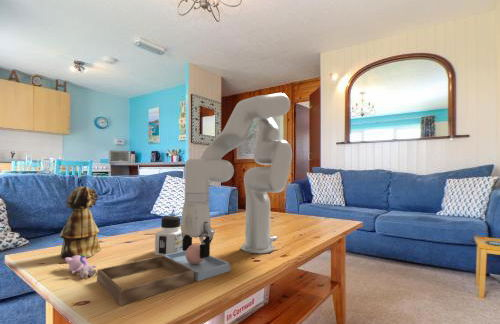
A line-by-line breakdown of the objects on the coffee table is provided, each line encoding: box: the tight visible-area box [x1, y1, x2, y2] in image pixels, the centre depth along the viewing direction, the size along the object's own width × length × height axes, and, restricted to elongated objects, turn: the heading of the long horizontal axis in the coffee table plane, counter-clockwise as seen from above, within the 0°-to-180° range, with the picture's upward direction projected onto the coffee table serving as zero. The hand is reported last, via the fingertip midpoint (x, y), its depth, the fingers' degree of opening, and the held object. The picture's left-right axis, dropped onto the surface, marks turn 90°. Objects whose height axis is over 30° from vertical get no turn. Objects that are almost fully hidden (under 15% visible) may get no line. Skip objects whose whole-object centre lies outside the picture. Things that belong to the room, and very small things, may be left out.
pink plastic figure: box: [64, 254, 97, 280], centre depth 75 cm, size 6×6×15 cm
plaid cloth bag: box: [58, 185, 102, 259], centre depth 91 cm, size 14×14×25 cm
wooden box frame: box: [96, 255, 195, 306], centre depth 69 cm, size 18×17×3 cm
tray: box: [164, 251, 231, 282], centre depth 81 cm, size 11×20×2 cm, turn 45°
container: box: [154, 215, 183, 256], centre depth 95 cm, size 8×8×13 cm
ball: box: [186, 243, 204, 264], centre depth 81 cm, size 6×6×6 cm
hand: (195, 253), depth 81 cm, fingers open, 9 cm apart
